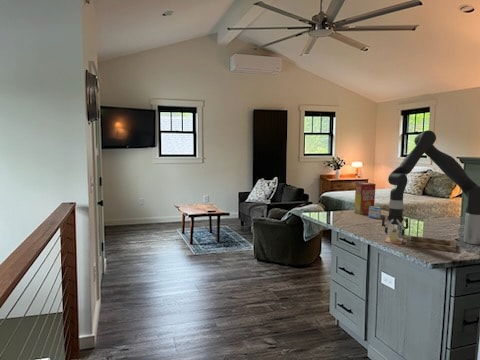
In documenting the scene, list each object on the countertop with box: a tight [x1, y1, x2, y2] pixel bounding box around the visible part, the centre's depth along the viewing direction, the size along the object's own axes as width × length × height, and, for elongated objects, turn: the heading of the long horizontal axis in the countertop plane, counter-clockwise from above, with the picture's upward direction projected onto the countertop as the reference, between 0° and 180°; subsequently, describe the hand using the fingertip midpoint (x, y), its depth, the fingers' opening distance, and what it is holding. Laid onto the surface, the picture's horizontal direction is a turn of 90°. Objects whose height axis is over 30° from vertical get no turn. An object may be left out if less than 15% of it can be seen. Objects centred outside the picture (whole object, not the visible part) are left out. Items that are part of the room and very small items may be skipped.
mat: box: [384, 236, 404, 245], centre depth 212 cm, size 9×12×1 cm
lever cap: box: [389, 228, 400, 242], centre depth 212 cm, size 4×7×6 cm, turn 152°
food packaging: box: [353, 182, 376, 216], centre depth 295 cm, size 13×9×25 cm
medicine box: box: [368, 206, 382, 220], centre depth 278 cm, size 8×4×9 cm, turn 47°
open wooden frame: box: [406, 235, 457, 253], centre depth 203 cm, size 24×15×2 cm, turn 62°
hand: (394, 234), depth 212 cm, fingers open, 8 cm apart
